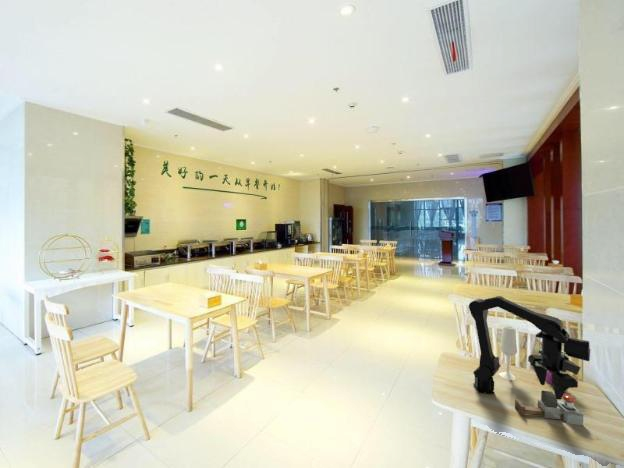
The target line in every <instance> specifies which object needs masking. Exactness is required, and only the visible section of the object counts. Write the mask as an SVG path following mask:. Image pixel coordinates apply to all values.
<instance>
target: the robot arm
mask: <svg viewBox="0 0 624 468" xmlns="http://www.w3.org/2000/svg"><path fill="white" fill-rule="evenodd" d="M494 308H499V309H501V310H504V311H506V312H508V313H510V314H513V315H514V316H516V317H518V318H520V319H523V320H525V321H527V322H529V323H531V324H532V325H533V326H534V327H535V328H537V330H540V331H539V332H537V333H536V334H535V337H536V338H538V339H541V341H542V351H539V350H538V354H530V355H528V359H527V360H528V362H529V364H530V366H531V368H532V369H533V371H534V373H535V375H536V377H537V378H536V379H537V380H538V381H539V383H540V386H545V384H546V373H547V371H550V372H551V373H552V375H551V378H552V381H551V383H552V385H551V387H552V390H553V393H554V394H555V396H556V398H557V400H558V401H560V400H562V399H563V395H564V394H566V391H567V390H568V389H570V388H571V389H573V388H575V389H576V388H577V389H578V387H579V381H578V380H577V379H576V378H575V377H573V376H572V375H571V374H569V373H567V372H570V373H572V374H574V375H576V376H578V375H579V372H580V370H581V366H579V365H578V364H576V363H575V362H573V361H571V360H570V358H574V359H578V360H582V361H585V362H590V358H591V348H590V347H591V346H590V341H589V340H583V339H577V338H573V337H571V335H570V334H569V333H568V332H567V330H566V329H565V327H564V324H563V323H564V322H562V320H560V319H559V318H558V317H554V316H552V315H549V314H545V313H540V312H536V311H534V310H531V309H528V308H527V307H524V306H523V305H520V304H518V303H516V302H514V301H511V300H509V299H507V298H505V297H504V296H501V295H496V296H494V297H488V298H485V299H482V298H477V299H474V300H472V301H470V303H469V304H468V310H469V313H470V315H471V317H472V318H473V320H474V322H475V329H476V333H477V338H478V345H479V350H480V357H479V365H478V367H477V368H476V369H474V370H473V375H474V383H472V385H473V387H474V388H475V390H476V392H478V393H479V394H480V393H481V394H491V395H495V381H494V376H495V375H496V374H497V373H498V371H500V368H501V366H502V365H501V364H500V358H499V356H495V354H494V352H493V349H492V341H491V337H490V332H489V326H488V320H487V319H488V313H489V310H491V309H494ZM562 348H563V349H562ZM562 351H564V352H565V355H562ZM539 353H540V354H541V355H539ZM560 371H562V372H564V374H563V373H560Z"/></svg>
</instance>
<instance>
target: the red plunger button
mask: <svg viewBox="0 0 624 468" xmlns="http://www.w3.org/2000/svg"><path fill="white" fill-rule="evenodd" d="M562 400H563V402H564V408H565V409H566V410H572V411H573V406H574V404H575V403H576V402H577V401H576V400H577V399H576V397H574V396H573V395H570V394H566V393H564V395H563V396H562ZM574 407H575V406H574Z"/></svg>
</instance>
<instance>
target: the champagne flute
mask: <svg viewBox="0 0 624 468" xmlns="http://www.w3.org/2000/svg"><path fill="white" fill-rule="evenodd" d="M501 331H502V332H501V338H500V345H499V350H500V351H501V353H503V354H504V356H506V364H505V365H506V367H505V371H504V372H500V373H498V374H499V377H501V378H502V379H505V380H508V381H509V380H510V381H515V380H517V378H516V376H514V375H513V374H512V373H510V363H511V362H510V361H511V360H510V358H511V357H513V356H515V355H516V354H517V353H518V347H517V334H516V333H517V332H516V326H512V325H509V324H508V325H506V324H505V325H503V326H502V330H501Z"/></svg>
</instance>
